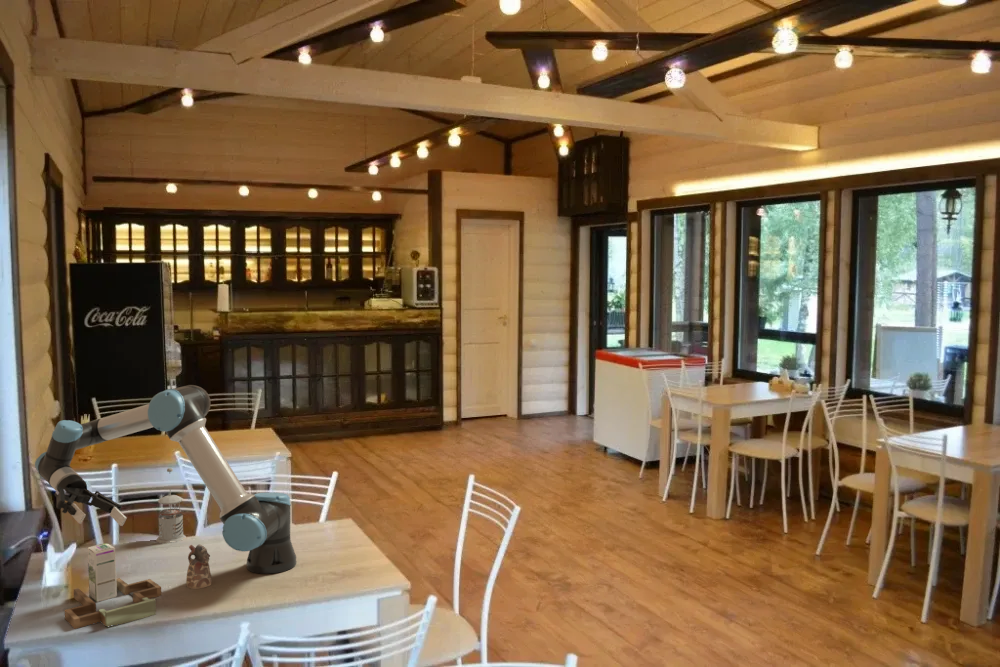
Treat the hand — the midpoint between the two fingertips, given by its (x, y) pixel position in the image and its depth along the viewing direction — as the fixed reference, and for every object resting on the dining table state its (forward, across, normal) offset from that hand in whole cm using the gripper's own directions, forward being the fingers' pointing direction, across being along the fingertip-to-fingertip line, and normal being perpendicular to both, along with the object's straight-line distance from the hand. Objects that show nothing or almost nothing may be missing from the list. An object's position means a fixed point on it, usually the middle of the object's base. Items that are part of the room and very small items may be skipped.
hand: (103, 520), depth 231 cm
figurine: (+25, -21, -6) cm, 33 cm away
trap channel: (+20, 0, -15) cm, 25 cm away
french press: (-18, -45, -14) cm, 50 cm away
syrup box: (+12, -2, -17) cm, 21 cm away
